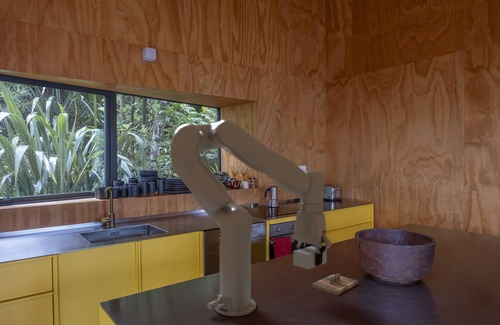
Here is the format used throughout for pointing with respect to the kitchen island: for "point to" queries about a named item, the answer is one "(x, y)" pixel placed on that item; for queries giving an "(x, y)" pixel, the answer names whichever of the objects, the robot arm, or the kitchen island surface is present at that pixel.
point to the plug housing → (306, 257)
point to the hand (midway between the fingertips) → (309, 262)
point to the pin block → (334, 284)
